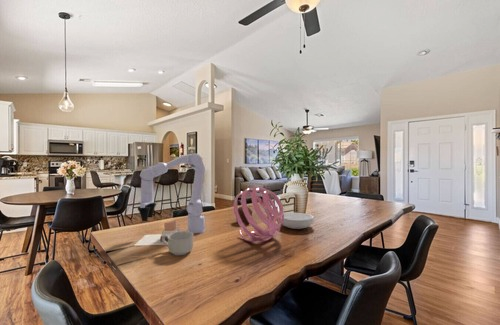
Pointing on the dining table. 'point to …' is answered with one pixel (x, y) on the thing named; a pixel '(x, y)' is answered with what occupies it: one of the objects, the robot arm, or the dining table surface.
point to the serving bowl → (297, 220)
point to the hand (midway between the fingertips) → (147, 219)
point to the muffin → (244, 215)
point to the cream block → (170, 231)
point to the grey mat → (150, 240)
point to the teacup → (179, 242)
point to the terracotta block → (169, 225)
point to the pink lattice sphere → (260, 214)
